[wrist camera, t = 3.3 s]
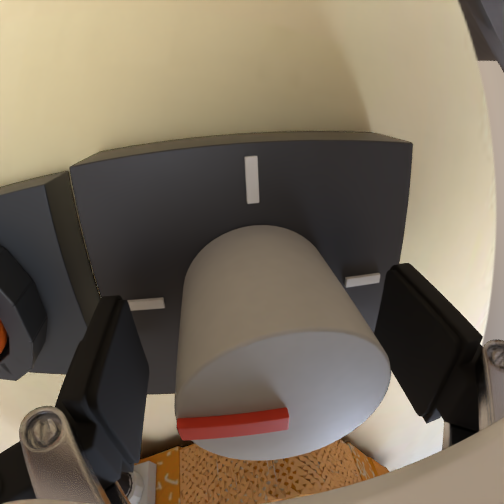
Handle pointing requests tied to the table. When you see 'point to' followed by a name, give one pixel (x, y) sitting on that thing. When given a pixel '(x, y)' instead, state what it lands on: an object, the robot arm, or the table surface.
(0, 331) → the power button
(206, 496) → the device
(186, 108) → the table surface
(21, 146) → the table surface
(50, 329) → the button block
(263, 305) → the timer dial
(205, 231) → the timer panel
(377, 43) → the table surface
